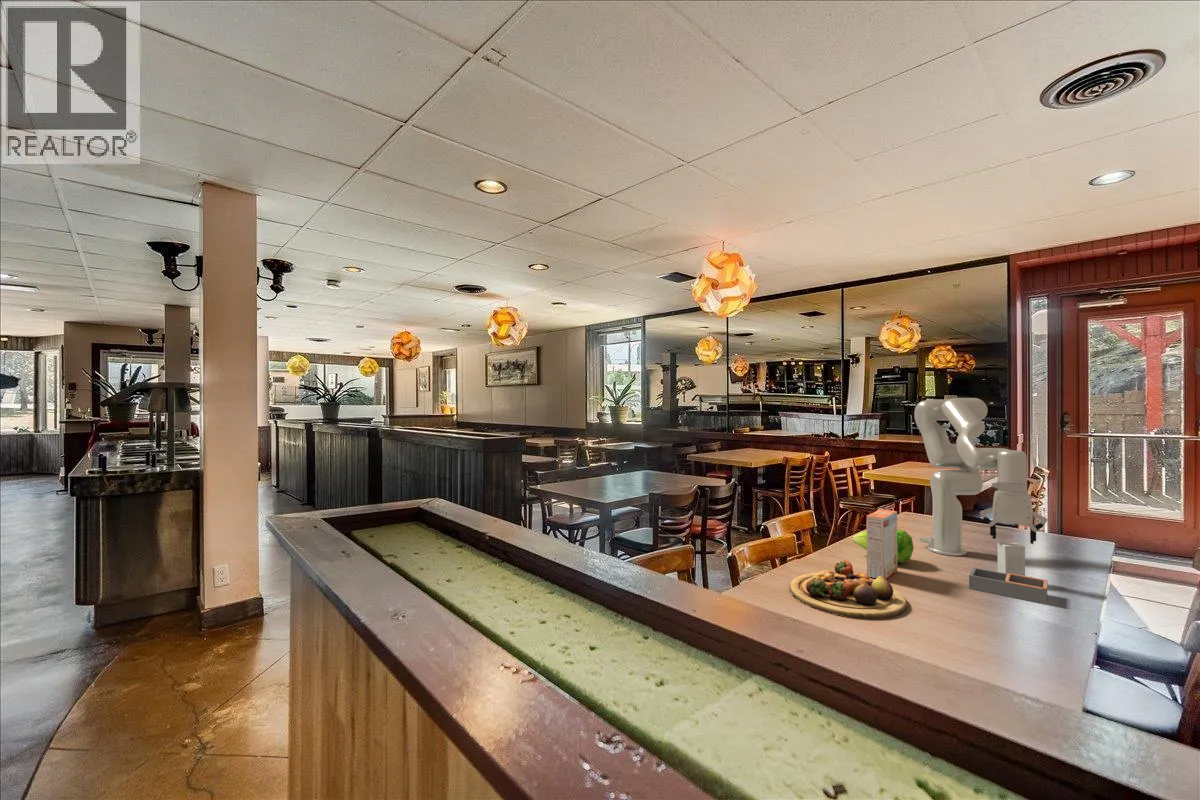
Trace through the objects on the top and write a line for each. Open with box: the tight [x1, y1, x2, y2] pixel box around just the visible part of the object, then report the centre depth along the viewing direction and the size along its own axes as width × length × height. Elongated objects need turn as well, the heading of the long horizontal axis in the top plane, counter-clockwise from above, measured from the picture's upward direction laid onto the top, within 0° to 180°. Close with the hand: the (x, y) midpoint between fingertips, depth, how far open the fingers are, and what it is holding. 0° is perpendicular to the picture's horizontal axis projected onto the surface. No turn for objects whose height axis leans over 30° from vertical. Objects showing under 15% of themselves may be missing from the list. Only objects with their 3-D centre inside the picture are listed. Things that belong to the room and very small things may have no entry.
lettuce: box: [852, 528, 915, 564], centre depth 191 cm, size 14×20×12 cm
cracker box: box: [865, 508, 898, 580], centre depth 175 cm, size 14×6×21 cm, turn 135°
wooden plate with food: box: [788, 559, 908, 620], centre depth 156 cm, size 32×32×8 cm
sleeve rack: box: [968, 567, 1048, 605], centre depth 160 cm, size 18×10×4 cm, turn 48°
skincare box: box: [996, 542, 1026, 576], centre depth 169 cm, size 6×4×12 cm
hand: (1012, 540), depth 169 cm, fingers open, 9 cm apart
